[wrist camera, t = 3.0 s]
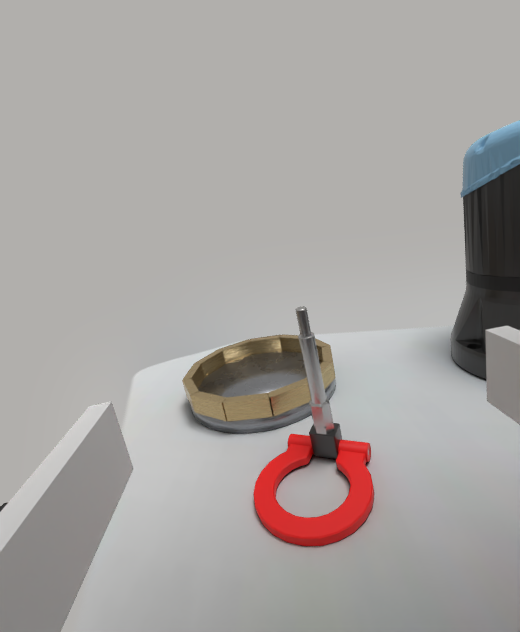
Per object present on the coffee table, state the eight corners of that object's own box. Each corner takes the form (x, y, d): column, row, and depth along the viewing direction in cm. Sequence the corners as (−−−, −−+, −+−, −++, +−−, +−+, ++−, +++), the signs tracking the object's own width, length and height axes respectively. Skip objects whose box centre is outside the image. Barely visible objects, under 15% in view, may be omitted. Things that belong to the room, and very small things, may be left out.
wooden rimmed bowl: (359, 365, 43) (356, 339, 42) (283, 451, 30) (275, 415, 30) (251, 354, 54) (247, 332, 53) (162, 413, 41) (154, 386, 40)
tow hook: (362, 569, 20) (384, 455, 28) (325, 368, 16) (363, 300, 24) (236, 533, 24) (286, 442, 32) (182, 365, 20) (254, 307, 28)
